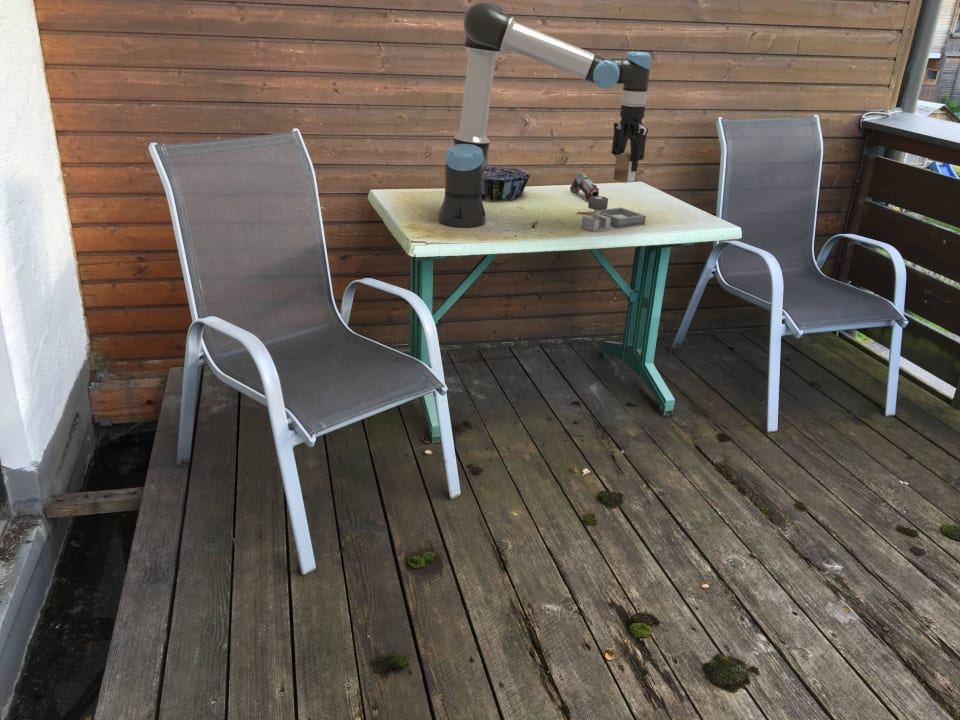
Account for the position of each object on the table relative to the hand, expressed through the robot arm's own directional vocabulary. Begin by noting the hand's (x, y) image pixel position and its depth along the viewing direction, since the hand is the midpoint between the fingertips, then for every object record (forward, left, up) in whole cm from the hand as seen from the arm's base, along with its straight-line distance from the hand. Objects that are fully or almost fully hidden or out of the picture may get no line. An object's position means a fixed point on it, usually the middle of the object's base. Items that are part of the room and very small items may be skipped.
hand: (624, 179), depth 251 cm
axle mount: (-13, -3, -14) cm, 20 cm away
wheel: (-13, -3, -10) cm, 17 cm away
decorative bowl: (-18, +50, -15) cm, 55 cm away
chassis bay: (0, 0, -14) cm, 14 cm away
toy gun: (+13, +34, -15) cm, 39 cm away
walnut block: (0, 0, 0) cm, 0 cm away
